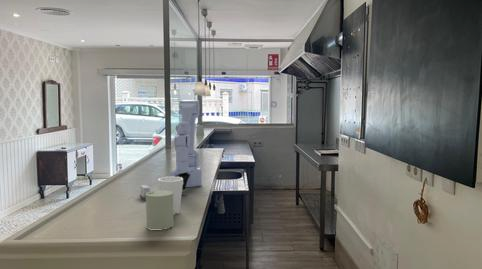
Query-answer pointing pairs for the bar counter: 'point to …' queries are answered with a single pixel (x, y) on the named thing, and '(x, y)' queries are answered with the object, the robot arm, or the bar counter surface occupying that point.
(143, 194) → the plate
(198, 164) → the robot arm
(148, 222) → the can
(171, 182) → the foam cup
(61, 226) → the bar counter surface
